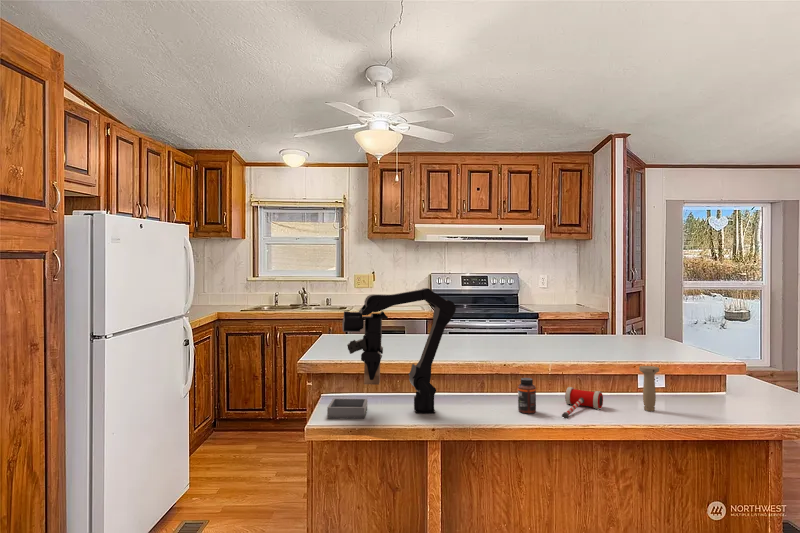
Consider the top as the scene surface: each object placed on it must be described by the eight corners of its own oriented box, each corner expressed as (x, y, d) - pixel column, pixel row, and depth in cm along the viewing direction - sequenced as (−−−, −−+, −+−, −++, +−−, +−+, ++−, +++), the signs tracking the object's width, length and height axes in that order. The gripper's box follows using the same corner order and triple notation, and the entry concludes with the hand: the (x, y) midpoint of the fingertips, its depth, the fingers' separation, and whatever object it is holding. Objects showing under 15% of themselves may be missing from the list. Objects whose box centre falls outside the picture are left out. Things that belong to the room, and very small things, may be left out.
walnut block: (379, 381, 169) (380, 360, 170) (379, 384, 164) (379, 363, 165) (365, 381, 169) (365, 360, 170) (363, 384, 164) (364, 363, 165)
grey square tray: (367, 408, 173) (367, 398, 173) (364, 418, 161) (364, 407, 161) (333, 408, 173) (333, 398, 173) (327, 418, 161) (327, 407, 161)
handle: (636, 409, 174) (636, 366, 174) (653, 408, 175) (652, 365, 175) (645, 412, 169) (645, 368, 169) (662, 412, 170) (662, 368, 170)
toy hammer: (582, 422, 159) (582, 402, 159) (547, 416, 166) (546, 397, 166) (603, 408, 177) (603, 389, 177) (570, 402, 184) (570, 385, 184)
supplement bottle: (537, 410, 171) (537, 378, 171) (533, 415, 166) (533, 381, 166) (520, 408, 174) (520, 376, 174) (516, 412, 169) (516, 379, 169)
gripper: (352, 328, 177) (351, 372, 176) (345, 334, 158) (344, 383, 158) (383, 329, 177) (382, 373, 176) (380, 335, 158) (379, 384, 158)
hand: (372, 378), depth 167 cm, fingers closed on walnut block, 5 cm apart
